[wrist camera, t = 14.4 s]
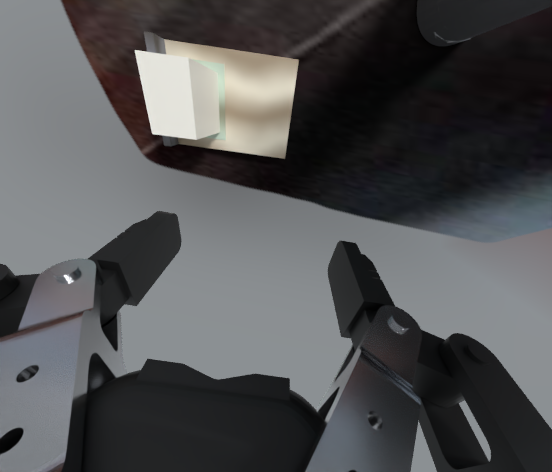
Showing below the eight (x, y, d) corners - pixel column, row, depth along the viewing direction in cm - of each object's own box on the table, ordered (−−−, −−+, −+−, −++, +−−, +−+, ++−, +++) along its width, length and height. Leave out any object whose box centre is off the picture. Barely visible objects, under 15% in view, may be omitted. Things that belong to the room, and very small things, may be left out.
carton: (217, 72, 26) (188, 57, 18) (220, 132, 30) (196, 139, 22) (178, 67, 26) (132, 49, 18) (185, 127, 29) (150, 133, 22)
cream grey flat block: (161, 41, 26) (142, 31, 22) (298, 62, 26) (299, 55, 23) (176, 141, 32) (163, 145, 29) (285, 156, 32) (284, 162, 29)
